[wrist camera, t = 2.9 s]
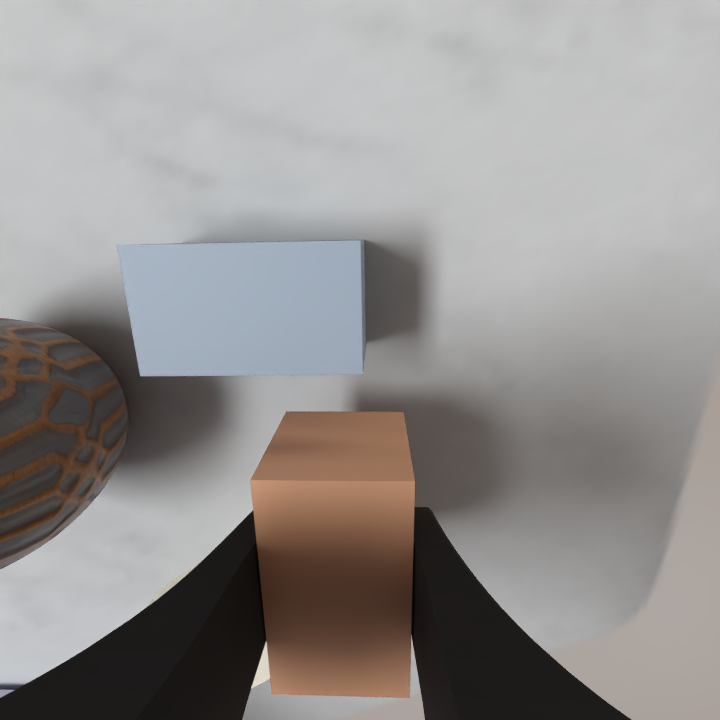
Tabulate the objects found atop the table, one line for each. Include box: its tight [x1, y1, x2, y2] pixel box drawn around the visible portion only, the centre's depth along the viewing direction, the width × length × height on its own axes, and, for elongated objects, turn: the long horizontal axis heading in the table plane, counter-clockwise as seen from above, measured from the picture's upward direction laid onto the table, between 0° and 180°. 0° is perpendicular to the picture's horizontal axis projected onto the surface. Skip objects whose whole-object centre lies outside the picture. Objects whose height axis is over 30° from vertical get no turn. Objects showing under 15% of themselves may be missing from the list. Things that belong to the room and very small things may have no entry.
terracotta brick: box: [250, 412, 415, 698], centre depth 11 cm, size 6×3×4 cm, turn 1°
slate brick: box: [117, 240, 366, 376], centre depth 12 cm, size 6×3×4 cm, turn 91°
